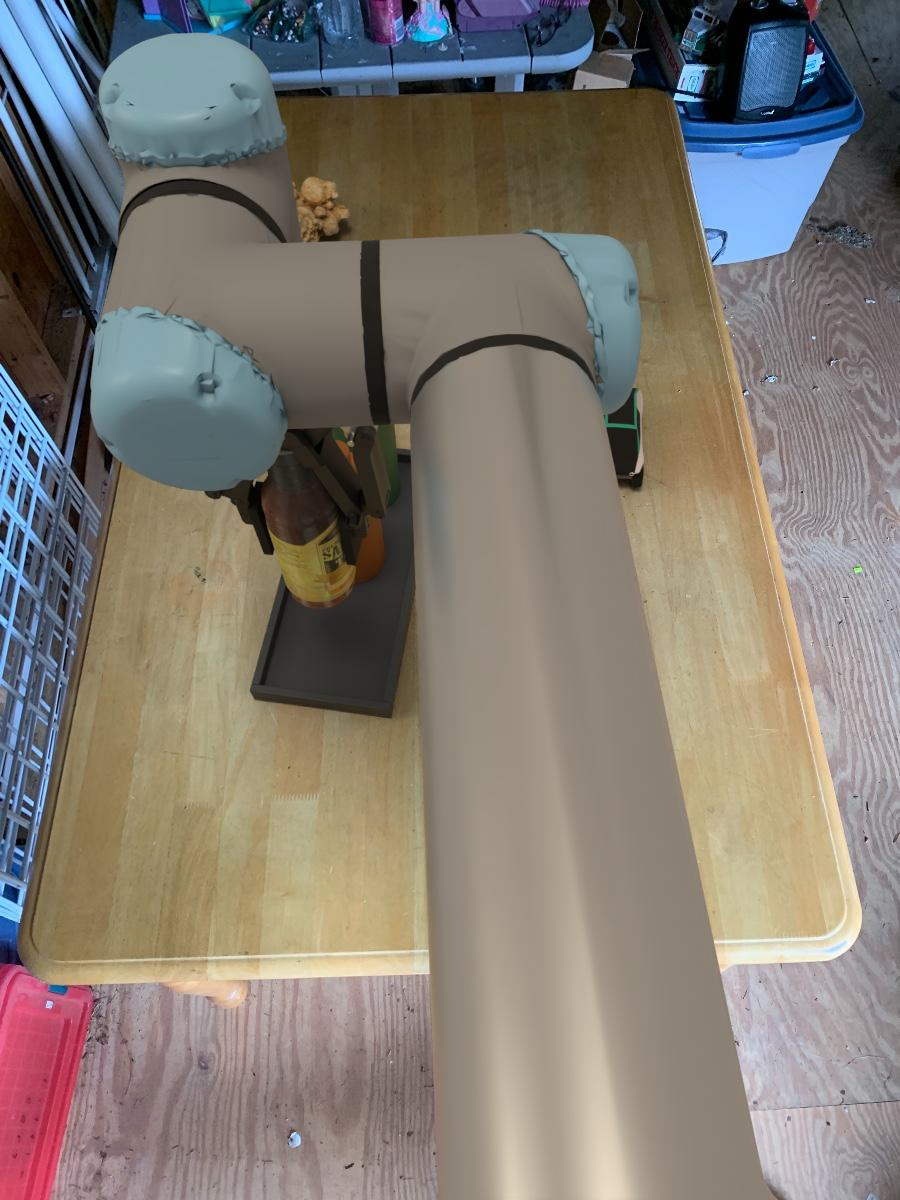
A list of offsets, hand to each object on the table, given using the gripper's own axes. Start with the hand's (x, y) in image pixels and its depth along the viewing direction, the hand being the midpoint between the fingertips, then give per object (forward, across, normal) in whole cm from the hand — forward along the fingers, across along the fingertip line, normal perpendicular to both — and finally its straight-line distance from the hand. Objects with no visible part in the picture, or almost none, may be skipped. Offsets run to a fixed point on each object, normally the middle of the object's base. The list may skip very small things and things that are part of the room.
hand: (313, 545), depth 69 cm
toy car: (+18, -26, -28) cm, 42 cm away
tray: (+18, 0, -8) cm, 19 cm away
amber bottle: (+17, 0, -9) cm, 19 cm away
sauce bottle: (+6, 0, 0) cm, 6 cm away
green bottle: (+17, 0, -18) cm, 25 cm away
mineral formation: (+18, +19, -58) cm, 64 cm away
